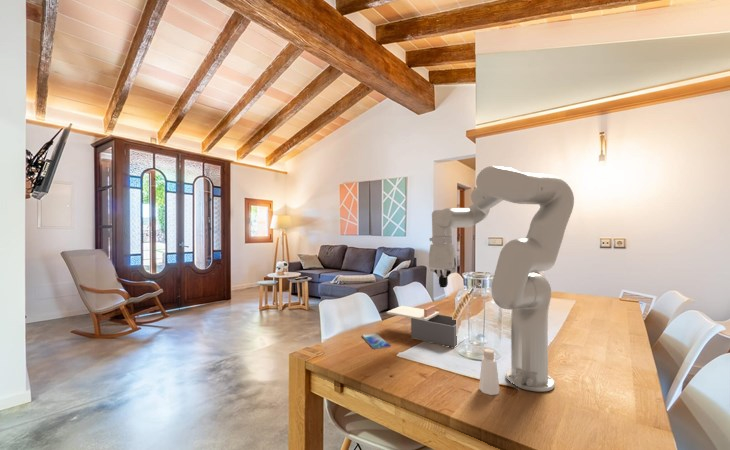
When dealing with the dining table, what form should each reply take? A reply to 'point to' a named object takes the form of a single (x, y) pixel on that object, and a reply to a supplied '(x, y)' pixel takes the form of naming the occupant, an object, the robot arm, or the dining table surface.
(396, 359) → the dining table surface
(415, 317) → the lid
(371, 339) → the smartphone
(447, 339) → the box
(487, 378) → the pepper shaker
